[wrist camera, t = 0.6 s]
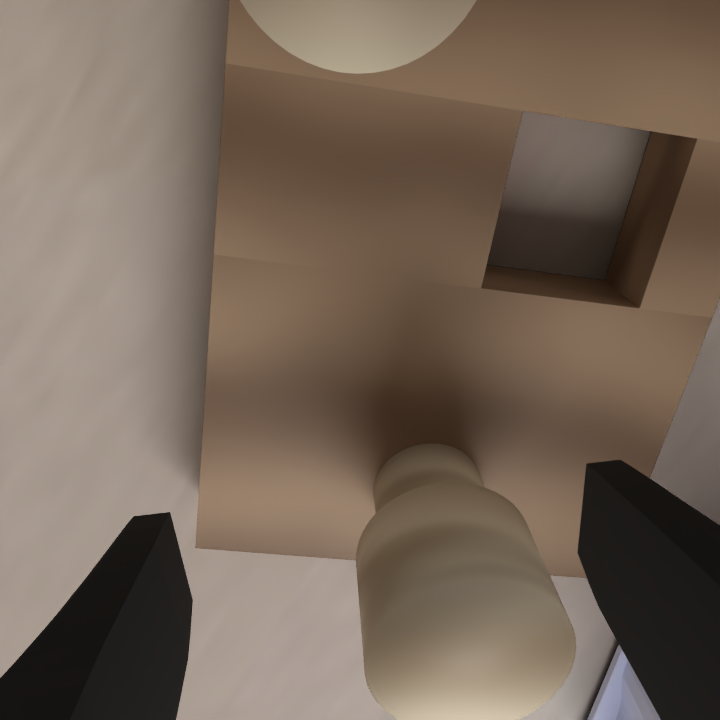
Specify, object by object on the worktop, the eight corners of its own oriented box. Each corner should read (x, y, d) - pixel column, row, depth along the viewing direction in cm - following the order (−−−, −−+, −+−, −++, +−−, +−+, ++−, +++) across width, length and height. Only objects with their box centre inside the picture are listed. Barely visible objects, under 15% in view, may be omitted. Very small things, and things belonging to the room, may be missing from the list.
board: (583, 532, 25) (664, 678, 19) (206, 500, 24) (171, 649, 18) (806, -92, 17) (1061, -164, 11) (254, -206, 16) (218, -360, 10)
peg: (484, 555, 22) (544, 737, 16) (340, 544, 22) (350, 728, 16) (520, 431, 20) (603, 588, 14) (363, 415, 20) (383, 571, 14)
